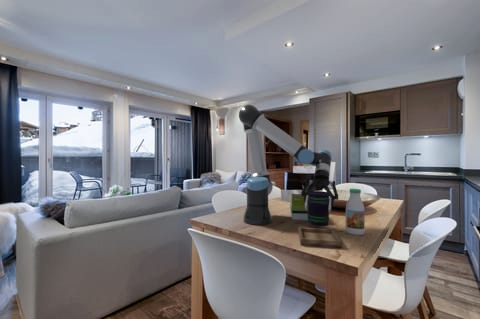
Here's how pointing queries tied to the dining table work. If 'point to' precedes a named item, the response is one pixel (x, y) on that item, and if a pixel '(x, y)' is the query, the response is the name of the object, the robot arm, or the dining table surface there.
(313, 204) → the storage jar
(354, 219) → the milk bottle
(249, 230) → the dining table surface
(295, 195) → the tea box
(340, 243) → the tray
